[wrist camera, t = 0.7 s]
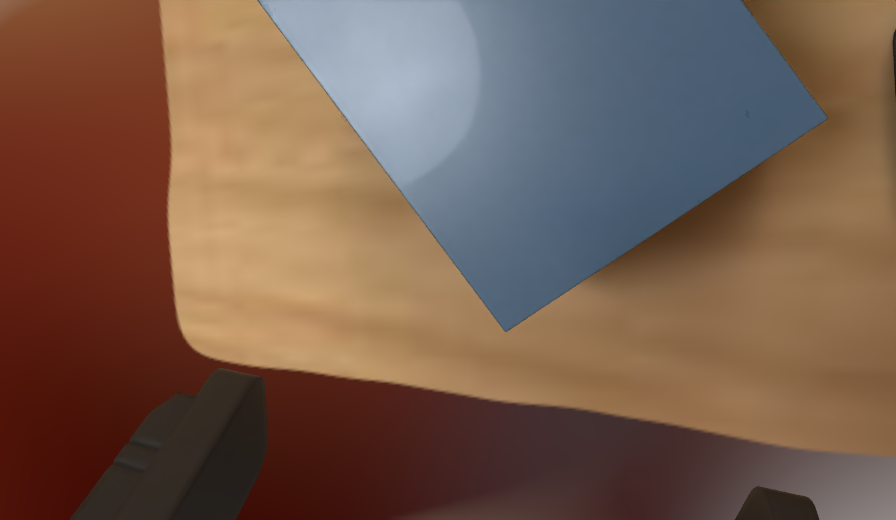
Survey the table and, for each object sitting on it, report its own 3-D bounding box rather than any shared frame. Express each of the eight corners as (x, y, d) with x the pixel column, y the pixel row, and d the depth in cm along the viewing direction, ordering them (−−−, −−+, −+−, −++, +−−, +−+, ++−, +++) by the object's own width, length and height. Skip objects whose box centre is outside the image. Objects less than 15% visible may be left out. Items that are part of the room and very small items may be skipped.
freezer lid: (250, -21, 26) (159, -47, 22) (512, -305, 22) (471, -419, 17) (509, 326, 27) (476, 378, 22) (823, 117, 22) (870, 124, 17)
